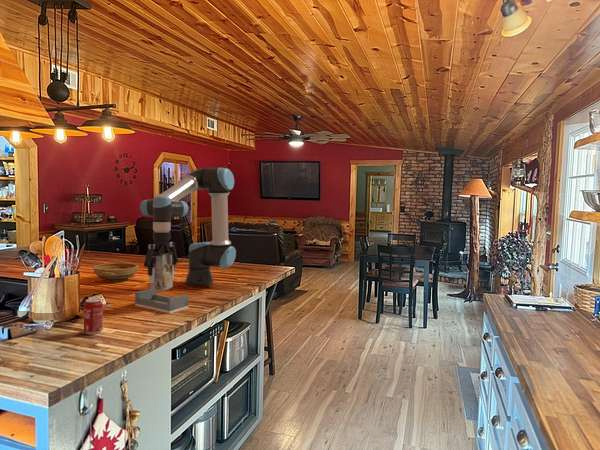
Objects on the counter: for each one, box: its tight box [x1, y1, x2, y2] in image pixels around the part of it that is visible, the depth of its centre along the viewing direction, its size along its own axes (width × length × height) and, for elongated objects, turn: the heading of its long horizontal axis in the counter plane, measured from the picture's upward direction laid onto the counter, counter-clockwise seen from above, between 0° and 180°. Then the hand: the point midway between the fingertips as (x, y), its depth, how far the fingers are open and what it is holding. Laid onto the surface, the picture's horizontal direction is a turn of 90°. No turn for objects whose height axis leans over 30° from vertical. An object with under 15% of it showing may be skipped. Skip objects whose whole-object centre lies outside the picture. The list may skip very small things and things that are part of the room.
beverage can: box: [83, 298, 104, 335], centre depth 161 cm, size 6×6×12 cm
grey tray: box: [134, 288, 190, 314], centre depth 197 cm, size 11×22×6 cm, turn 60°
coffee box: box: [149, 252, 174, 292], centre depth 196 cm, size 9×6×16 cm
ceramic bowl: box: [92, 262, 140, 283], centre depth 252 cm, size 30×24×8 cm
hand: (161, 280), depth 197 cm, fingers closed on coffee box, 10 cm apart
